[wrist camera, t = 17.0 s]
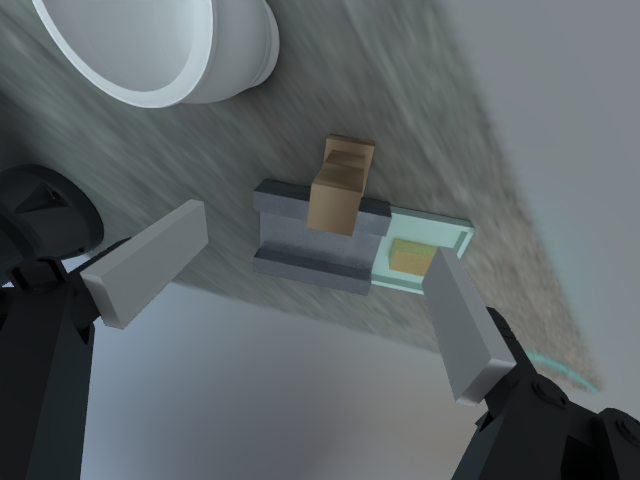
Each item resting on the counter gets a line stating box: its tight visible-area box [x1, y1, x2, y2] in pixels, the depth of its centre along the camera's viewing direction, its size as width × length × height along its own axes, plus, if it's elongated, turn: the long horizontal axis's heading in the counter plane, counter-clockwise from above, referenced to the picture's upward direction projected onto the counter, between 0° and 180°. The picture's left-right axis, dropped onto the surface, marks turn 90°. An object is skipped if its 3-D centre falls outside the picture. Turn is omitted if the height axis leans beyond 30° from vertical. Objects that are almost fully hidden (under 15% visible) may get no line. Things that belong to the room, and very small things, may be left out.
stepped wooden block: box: [307, 134, 375, 237], centre depth 24 cm, size 5×6×14 cm
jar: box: [32, 0, 279, 108], centre depth 19 cm, size 11×10×15 cm
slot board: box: [253, 179, 392, 296], centre depth 34 cm, size 16×12×4 cm
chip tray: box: [371, 206, 476, 295], centre depth 34 cm, size 10×11×2 cm
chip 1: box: [388, 238, 421, 274], centre depth 33 cm, size 3×3×3 cm
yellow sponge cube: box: [413, 243, 438, 277], centre depth 33 cm, size 3×3×3 cm
